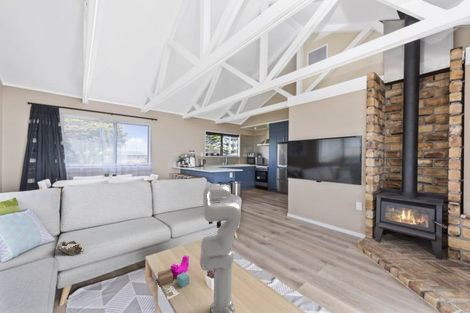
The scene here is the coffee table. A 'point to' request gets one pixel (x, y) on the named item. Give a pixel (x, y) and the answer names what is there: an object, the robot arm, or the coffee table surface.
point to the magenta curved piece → (180, 267)
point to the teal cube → (183, 279)
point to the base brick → (165, 277)
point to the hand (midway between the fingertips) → (214, 225)
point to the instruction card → (171, 292)
